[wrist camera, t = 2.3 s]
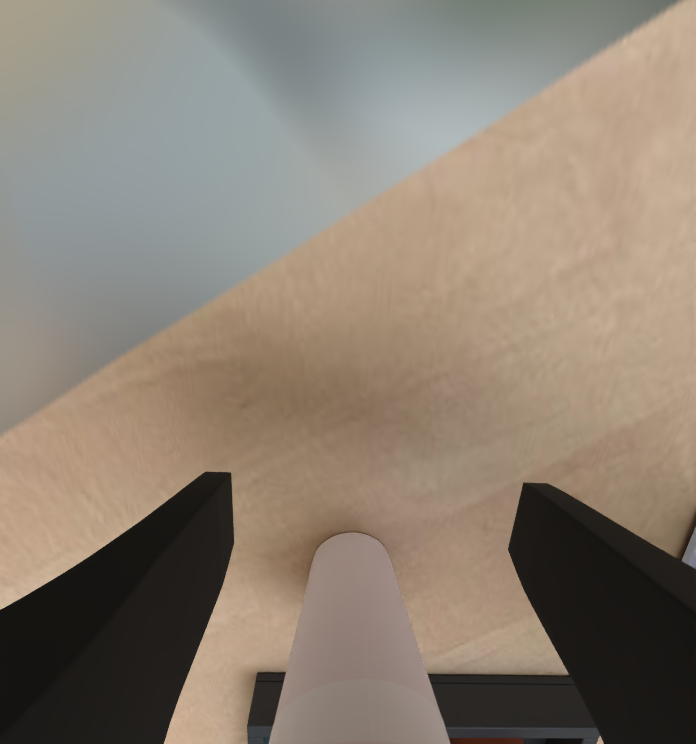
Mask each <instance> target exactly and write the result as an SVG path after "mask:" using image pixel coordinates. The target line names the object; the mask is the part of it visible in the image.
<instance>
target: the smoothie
mask: <svg viewBox="0 0 696 744" xmlns="http://www.w3.org/2000/svg"><path fill="white" fill-rule="evenodd" d="M269 744H450V741H449V737H448V734H447V731H446V728H445V725H444V721H443V719H442V717H441V714H440V711H439V708H438V705H437V701H436V698H435V695H434V692H433V689H432V686H431V683H430V680H429V677H428V674H427V671H426V668H425V665H424V662H423V659H422V656H421V653H420V650H419V647H418V643H417V640H416V637H415V634H414V631H413V628H412V625H411V622H410V619H409V616H408V613H407V610H406V607H405V604H404V601H403V598H402V595H401V592H400V589H399V586H398V582H397V579H396V576H395V573H394V570H393V567H392V564H391V561H390V558H389V555H388V552H387V550H386V549H385V547H384V546H383V545H382V544H381V543H380V542H379V541H378V540H376V539H375V538H373V537H371V536H369V535H366V534H362V533H355V532H350V533H342V534H338V535H335V536H333V537H331V538H329V539H327V540H326V541H325V542H323V543H322V544H321V545H320V546H319V548H318V549H317V550H316V552H315V555H314V558H313V562H312V566H311V570H310V574H309V578H308V583H307V587H306V591H305V595H304V599H303V604H302V608H301V612H300V616H299V620H298V624H297V629H296V633H295V637H294V641H293V645H292V650H291V654H290V658H289V662H288V666H287V671H286V675H285V679H284V683H283V687H282V691H281V696H280V700H279V704H278V708H277V712H276V717H275V721H274V725H273V728H272V731H271V736H270V740H269Z"/></svg>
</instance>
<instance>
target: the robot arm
mask: <svg viewBox="0 0 696 744" xmlns="http://www.w3.org/2000/svg"><path fill="white" fill-rule="evenodd" d="M233 545H234V527H233V505H232V482H231V473H228V472H205V473H203V474H202V475H200V476H199V477H198V478H196V479H195V480H194V481H192V482H191V483H190V484H188V485H187V486H186V487H185V488H183V489H182V490H181V491H179V492H178V493H177V494H176V495H174V496H173V497H172V498H170V499H169V500H168V501H167V502H165V503H164V504H163V505H161V506H160V507H159V508H157V509H156V510H155V511H153V512H152V513H151V514H149V515H148V516H147V517H145V518H144V519H143V520H141V521H140V522H139V523H137V524H136V525H135V526H133V527H132V528H130V529H129V530H127V531H126V532H124V533H123V534H122V535H120V536H119V537H117V538H116V539H114V540H113V541H111V542H110V543H109V544H107V545H106V546H104V547H103V548H101V549H100V550H98V551H97V552H96V553H94V554H93V555H91V556H90V557H88V558H87V559H85V560H84V561H82V562H80V563H79V564H77V565H76V566H74V567H73V568H71V569H69V570H68V571H66V572H65V573H63V574H61V575H60V576H58V577H57V578H55V579H53V580H51V581H50V582H48V583H46V584H45V585H43V586H41V587H40V588H38V589H36V590H35V591H33V592H31V593H30V594H28V595H26V596H25V597H23V598H21V599H19V600H17V601H16V602H14V603H12V604H10V605H9V606H7V607H5V608H3V609H1V610H0V744H164V741H165V738H166V734H167V731H168V728H169V724H170V721H171V719H172V716H173V713H174V710H175V707H176V704H177V702H178V699H179V696H180V693H181V691H182V688H183V686H184V683H185V680H186V678H187V675H188V673H189V670H190V668H191V665H192V663H193V660H194V658H195V655H196V652H197V650H198V647H199V645H200V642H201V640H202V637H203V635H204V632H205V630H206V627H207V624H208V622H209V619H210V617H211V614H212V612H213V609H214V606H215V604H216V601H217V599H218V596H219V593H220V591H221V588H222V585H223V582H224V579H225V575H226V571H227V568H228V564H229V560H230V556H231V552H232V548H233ZM508 551H509V553H510V556H511V559H512V561H513V564H514V567H515V569H516V572H517V574H518V577H519V579H520V582H521V584H522V586H523V589H524V591H525V593H526V595H527V597H528V599H529V601H530V603H531V605H532V607H533V608H534V610H535V612H536V614H537V616H538V618H539V620H540V622H541V623H542V625H543V627H544V629H545V631H546V633H547V635H548V636H549V638H550V640H551V642H552V644H553V646H554V647H555V649H556V651H557V653H558V655H559V657H560V658H561V660H562V662H563V664H564V666H565V668H566V669H567V671H568V673H569V675H570V677H571V679H572V680H573V682H574V684H575V686H576V688H577V690H578V691H579V693H580V695H581V697H582V699H583V701H584V703H585V705H586V707H587V709H588V711H589V713H590V715H591V717H592V719H593V721H594V723H595V725H596V727H597V729H598V731H599V733H600V736H601V738H602V740H603V742H604V744H696V527H695V529H694V532H693V534H692V536H691V539H690V541H689V544H688V546H687V549H686V551H685V554H684V556H683V559H682V561H681V560H679V559H677V558H675V557H673V556H672V555H670V554H668V553H666V552H665V551H663V550H661V549H659V548H658V547H656V546H654V545H652V544H651V543H649V542H647V541H646V540H644V539H642V538H641V537H639V536H637V535H635V534H634V533H632V532H630V531H629V530H627V529H625V528H624V527H622V526H620V525H619V524H617V523H615V522H614V521H612V520H611V519H609V518H607V517H606V516H604V515H602V514H601V513H599V512H597V511H596V510H594V509H592V508H591V507H589V506H587V505H586V504H584V503H582V502H581V501H579V500H577V499H575V498H574V497H572V496H570V495H569V494H567V493H565V492H563V491H561V490H559V489H558V488H556V487H554V486H552V485H550V484H547V483H523V487H522V491H521V496H520V500H519V504H518V508H517V513H516V517H515V521H514V526H513V530H512V534H511V539H510V543H509V547H508Z"/></svg>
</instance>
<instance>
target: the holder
mask: <svg viewBox="0 0 696 744" xmlns="http://www.w3.org/2000/svg"><path fill="white" fill-rule="evenodd" d="M285 675H286V674H284V673H257V677H256V683H255V688H254V693H253V698H252V704H251V709H250V714H249V719H248V724H247V733H248V744H269V740H270V736H271V731H272V728H273V725H274V721H275V717H276V712H277V708H278V704H279V700H280V696H281V691H282V687H283V683H284V679H285ZM428 677H429V680H430V683H431V686H432V689H433V692H434V695H435V698H436V701H437V705H438V708H439V711H440V714H441V717H442V719H443V721H444V725H445V728H446V731H447V734H448V737H449V738H524V741H525V743H526V744H596V743H597V741H598V738H599V736H600V733H599V731H598V729H597V727H596V725H595V723H594V721H593V719H592V717H591V715H590V713H589V711H588V709H587V707H586V705H585V703H584V701H583V699H582V697H581V695H580V693H579V691H578V690H577V688H576V686H575V684H574V682H573V680H572V679H571V677H566V676H472V675H428Z"/></svg>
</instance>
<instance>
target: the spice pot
mask: <svg viewBox="0 0 696 744" xmlns="http://www.w3.org/2000/svg"><path fill="white" fill-rule="evenodd" d="M449 741H450V744H526V743H525V741H524V738H449Z"/></svg>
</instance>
